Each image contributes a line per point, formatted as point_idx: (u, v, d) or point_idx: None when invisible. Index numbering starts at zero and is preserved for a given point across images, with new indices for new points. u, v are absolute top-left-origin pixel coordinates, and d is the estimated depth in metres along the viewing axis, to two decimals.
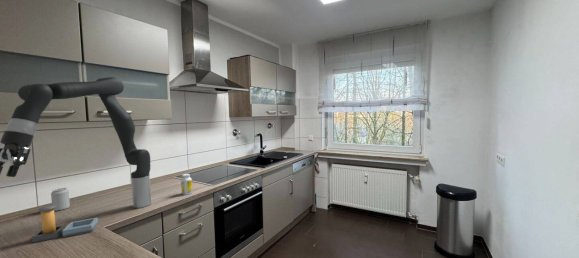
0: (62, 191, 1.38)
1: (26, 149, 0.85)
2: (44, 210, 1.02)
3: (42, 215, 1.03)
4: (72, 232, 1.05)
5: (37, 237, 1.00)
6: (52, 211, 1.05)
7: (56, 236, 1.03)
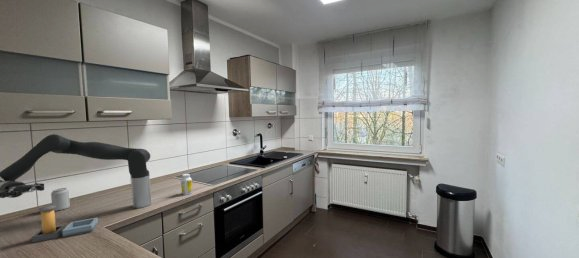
0: (62, 191, 1.38)
1: None
2: (44, 210, 1.02)
3: (42, 215, 1.03)
4: (72, 232, 1.05)
5: (37, 237, 1.00)
6: (52, 211, 1.05)
7: (56, 236, 1.03)
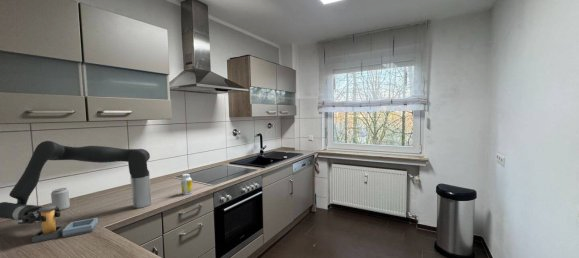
0: (62, 191, 1.38)
1: (18, 221, 1.01)
2: (44, 210, 1.02)
3: (42, 215, 1.03)
4: (72, 232, 1.05)
5: (37, 237, 1.00)
6: (52, 211, 1.05)
7: (56, 236, 1.03)
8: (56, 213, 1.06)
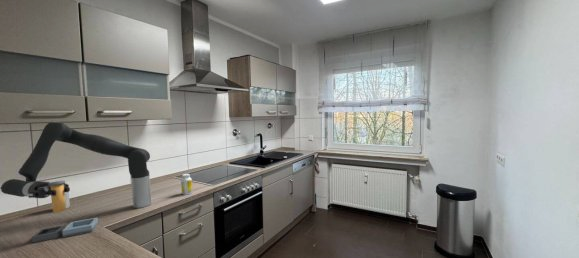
0: None
1: (29, 194, 1.02)
2: (54, 184, 1.04)
3: (52, 189, 1.04)
4: (72, 232, 1.05)
5: (37, 237, 1.00)
6: (62, 186, 1.06)
7: (56, 236, 1.03)
8: (66, 188, 1.07)
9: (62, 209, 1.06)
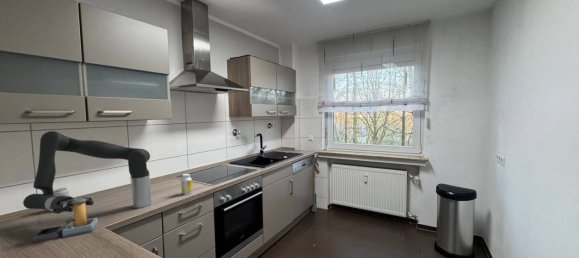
0: (62, 191, 1.38)
1: (50, 209, 1.06)
2: (77, 203, 1.07)
3: (75, 207, 1.08)
4: (72, 232, 1.05)
5: (37, 237, 1.00)
6: (83, 204, 1.10)
7: (56, 236, 1.03)
8: (90, 201, 1.13)
9: None
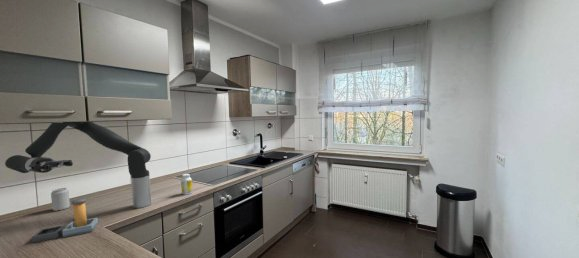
0: (62, 191, 1.38)
1: (28, 167, 1.09)
2: (76, 203, 1.07)
3: (74, 207, 1.08)
4: (72, 232, 1.05)
5: (37, 237, 1.00)
6: (83, 204, 1.10)
7: (56, 236, 1.03)
8: (69, 162, 1.16)
9: None
